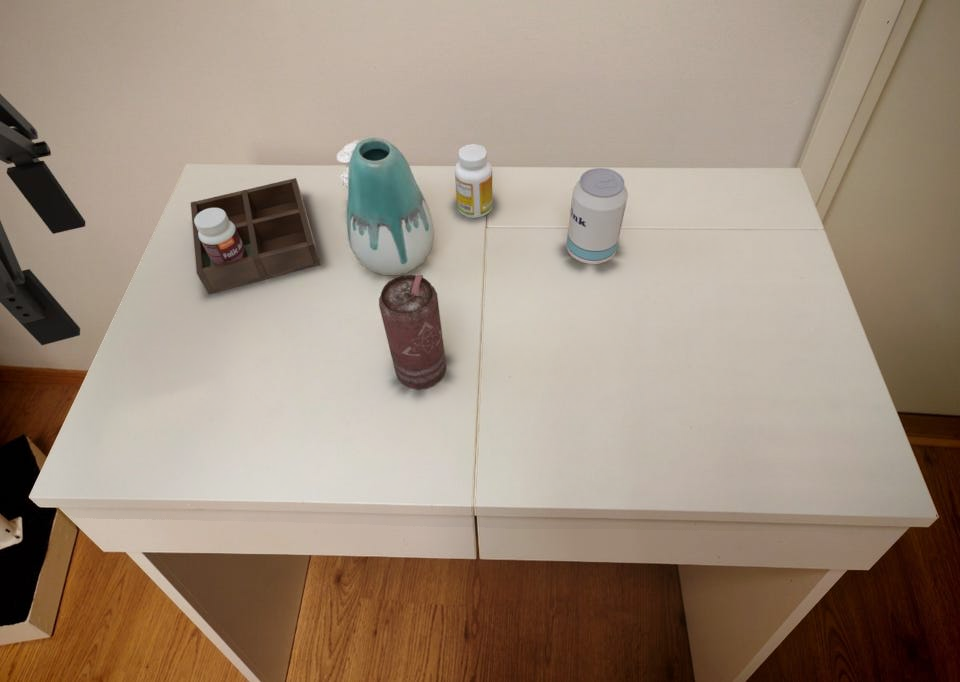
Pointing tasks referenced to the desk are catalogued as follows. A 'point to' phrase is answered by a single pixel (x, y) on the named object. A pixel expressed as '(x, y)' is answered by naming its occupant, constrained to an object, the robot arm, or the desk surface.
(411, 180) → the vase
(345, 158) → the flower shoulder figurine
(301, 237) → the holder
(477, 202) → the supplement bottle
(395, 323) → the red cylinder
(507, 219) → the desk surface
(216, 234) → the pill bottle
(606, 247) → the beverage can
